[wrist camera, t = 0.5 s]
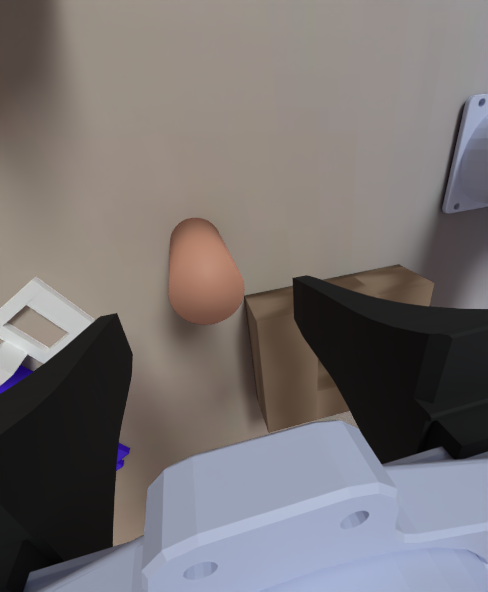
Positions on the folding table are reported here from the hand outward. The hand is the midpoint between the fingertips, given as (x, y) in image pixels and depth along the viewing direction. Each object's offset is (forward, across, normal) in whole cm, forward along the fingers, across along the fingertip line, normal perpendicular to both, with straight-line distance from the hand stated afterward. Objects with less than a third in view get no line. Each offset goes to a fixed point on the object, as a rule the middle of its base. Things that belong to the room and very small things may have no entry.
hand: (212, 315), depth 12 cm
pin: (+10, 0, 0) cm, 10 cm away
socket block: (+10, -10, +11) cm, 18 cm away
